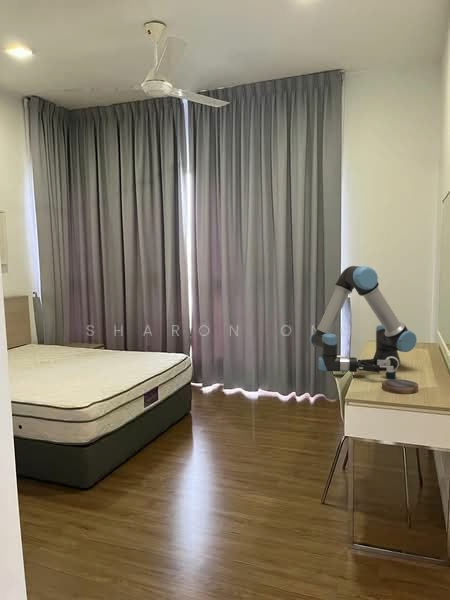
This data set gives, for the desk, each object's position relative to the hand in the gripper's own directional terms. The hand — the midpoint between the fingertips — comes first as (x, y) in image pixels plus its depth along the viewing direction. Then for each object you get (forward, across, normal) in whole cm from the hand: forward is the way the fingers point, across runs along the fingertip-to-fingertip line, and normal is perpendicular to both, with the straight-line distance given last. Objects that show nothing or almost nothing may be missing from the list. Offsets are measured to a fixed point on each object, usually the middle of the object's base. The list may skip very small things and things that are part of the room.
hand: (391, 365), depth 244 cm
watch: (0, 0, -7) cm, 7 cm away
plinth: (+1, +20, -6) cm, 21 cm away
